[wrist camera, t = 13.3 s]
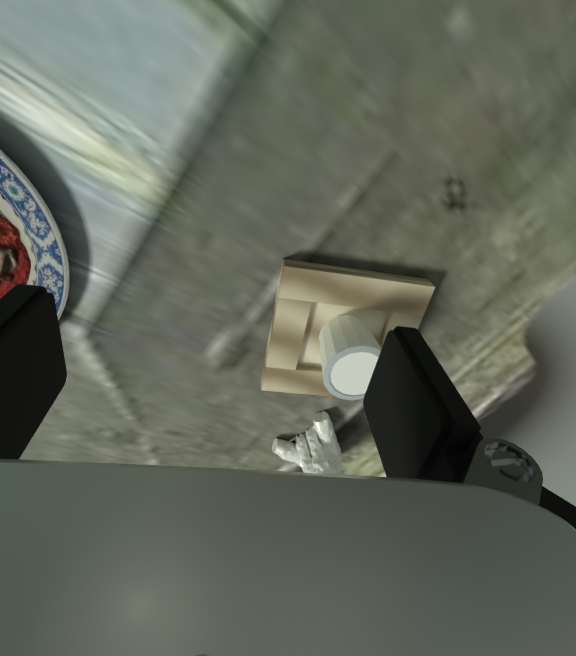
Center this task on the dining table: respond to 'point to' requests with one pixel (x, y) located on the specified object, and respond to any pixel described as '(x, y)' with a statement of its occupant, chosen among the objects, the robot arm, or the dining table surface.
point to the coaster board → (332, 316)
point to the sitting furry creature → (313, 448)
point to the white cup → (347, 356)
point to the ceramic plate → (29, 238)
